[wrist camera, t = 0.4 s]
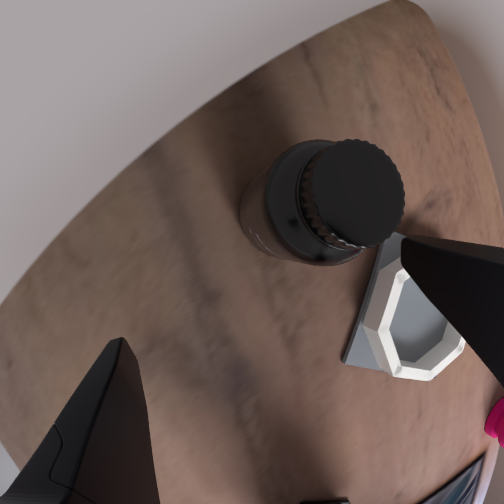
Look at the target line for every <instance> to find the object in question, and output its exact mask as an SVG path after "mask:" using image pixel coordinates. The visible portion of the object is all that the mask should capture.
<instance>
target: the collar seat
mask: <svg viewBox="0 0 504 504" xmlns="http://www.w3.org/2000/svg"><path fill="white" fill-rule="evenodd" d="M405 237H406V236H404V235H402V234H399V233H397V232H394V233H392V235H391V237H390V238H389V239H386V240H385V241H384V242H383V243H382V244H380V246H379V250H378V253H377V257H376V260H375V264H374V267H373V271H372V274H371V277H370V281H369V284H368V287H367V290H366V294H365V297H364V300H363V303H362V306H361V309H360V312H359V315H358V318H357V321H356V324H355V327H354V330H353V332H352V335H351V338H350V341H349V343H348V346H347V349H346V352H345V354H344V357H343V359H342V362H343V363H344V364H347V365H353V366H358V367H364V368H369V369H375V370H381V371H385V372H387V373H388V374H390V375H392V376H393V377H401V378H408V379H416V380H423V381H430V380H431V379H432V378H436V376H437V374H438V373H439V372H440V371H442V370H443V369H444V368H445V367H446V366H447V365H448V364H449V363H451V362H452V361H453V360H454V359H455V358H456V357H457V356H458V355H459V354H460V353H461V352H462V351H463V348H464V345H465V342H466V341H465V340H464V339H463V337H462V336H461V335H460V334H459V333H458V332H457V331H456V329H455V328H454V327H453V326H452V325H451V324H450V323H449V322H448V321H447V319H446V318H445V317H444V316H443V315H442V314H441V313H440V312H439V311H438V310H437V308H436V307H435V306H434V305H433V304H432V303H431V302H430V301H429V300H428V299H427V297H426V296H425V295H424V294H423V292H422V291H421V290H420V289H419V287H418V286H417V285H416V283H415V282H414V281H413V280H412V278H411V277H410V276H409V274H408V273H407V272H406V271H405V269H404V268H403V267H402V265H401V261H400V257H401V241H402V239H403V238H405Z"/></svg>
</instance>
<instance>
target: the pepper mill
mask: <svg viewBox="0 0 504 504" xmlns="http://www.w3.org/2000/svg"><path fill="white" fill-rule="evenodd" d="M485 432H486V433H487V434H488V435H490V436H491V437H493V438H496V437H498V442H499V444H500V446H502V447H503V448H504V397H503V398H502V399H501V400H499V401H498V403H497V404H496V405H495V406H494V408H493V409H492V411H491V412H490V414H489V416H488V418H487V421H486V424H485Z"/></svg>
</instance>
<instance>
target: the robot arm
mask: <svg viewBox="0 0 504 504" xmlns="http://www.w3.org/2000/svg"><path fill="white" fill-rule="evenodd" d="M400 261H401V265H402V267H403V268H404V269H405V271H406V272H407V273H408V274H409V276H410V277H411V278H412V280H413V281H414V282H415V283H416V285H417V286H418V287H419V289H420V290H421V291H422V292H423V294H424V295H425V296H426V297H427V299H428V300H429V301H430V302H431V303H432V304H433V305H434V306H435V307H436V308H437V310H438V311H439V312H440V313H441V314H442V315H443V316H444V317H445V318H446V319H447V321H448V322H449V323H450V324H451V325H452V326H453V327H454V328H455V329H456V331H457V332H458V333H459V334H460V335H461V336H462V337H463V339H464V340H465V341H466V342H467V343H468V344H469V346H470V347H471V348H472V349H473V350H474V351H475V353H476V354H477V355H478V356H479V357H480V359H481V360H482V361H483V362H484V363H485V365H486V366H487V367H488V368H489V370H490V371H491V372H492V373H493V375H494V376H495V377H496V378H497V380H498V381H499V382H500V383H501V385H502V386H503V388H504V249H503V248H501V247H495V246H488V245H482V244H475V243H468V242H462V241H455V240H448V239H440V238H433V237H426V236H418V235H410V236H407V237H405V238H403V239H402V241H401V257H400ZM0 504H160V499H159V494H158V488H157V482H156V476H155V469H154V462H153V455H152V447H151V439H150V431H149V421H148V412H147V406H146V400H145V396H144V391H143V386H142V381H141V376H140V370H139V365H138V361H137V359H136V357H135V355H134V353H133V351H132V350H131V348H130V346H129V345H128V343H127V341H126V340H125V338H123V337H120V338H116V339H113V340H110V341H109V343H108V344H107V345H106V347H105V348H104V350H103V351H102V352H101V354H100V355H99V357H98V358H97V360H96V361H95V362H94V364H93V365H92V367H91V368H90V370H89V371H88V373H87V374H86V375H85V377H84V378H83V380H82V381H81V383H80V384H79V386H78V387H77V389H76V390H75V392H74V393H73V395H72V396H71V398H70V399H69V401H68V402H67V404H66V405H65V407H64V408H63V410H62V411H61V413H60V414H59V416H58V418H57V419H56V421H55V424H53V425H52V427H51V428H50V430H49V432H48V433H47V435H46V436H45V438H44V439H43V441H42V442H41V444H40V445H39V447H38V448H37V450H36V451H35V453H34V454H33V455H32V457H31V458H30V460H29V461H28V462H27V464H26V465H25V466H24V468H23V469H22V471H21V472H20V473H19V475H18V476H17V478H16V479H15V480H14V482H13V483H12V485H11V486H10V487H9V489H8V490H7V491H6V492H5V494H3V495H2V496H1V497H0ZM300 504H350V502H349V501H348V500H344V501H324V502H302V503H300Z"/></svg>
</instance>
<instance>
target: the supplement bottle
mask: <svg viewBox="0 0 504 504" xmlns="http://www.w3.org/2000/svg"><path fill="white" fill-rule="evenodd" d="M404 197H405V192H404V189H403V182H402V180H401V175H400V173H399V172H398V171H397V168H396V165H395V164H394V163H393V162H392V160H391V158H390V157H389V156H387V155H386V154H385V152H384V151H383V150H381V149H379V148H378V147H377V146H376V145H375V144H370V143H369V142H367V141H360V140H359V139H354V140H351V139H346V140H344V141H337V142H334V141H330V140H322V139H316V140H309V141H304V142H301V143H298V144H296V145H294V146H292V147H291V148H289V149H287V150H286V151H285V152H283V153H282V154H281V155H280V156H279V157H277V158H276V159H275V160H274V161H273V162H272V163H271V164H269V165H268V166H267V167H266V168H265V169H264V170H263V171H262V172H260V173H259V174H258V175H257V176H256V177H255V178H254V179H253V180H252V181H251V182H250V183H249V185H248V186H247V188H246V189H245V191H244V193H243V195H242V198H241V202H240V208H239V216H240V222H241V226H242V229H243V231H244V233H245V235H246V237H247V238H248V240H249V241H250V242H251V244H252V245H253V246H254V247H256V248H257V249H258V250H260V251H261V252H263V253H265V254H267V255H269V256H272V257H275V258H279V259H284V260H289V261H294V262H299V263H304V264H309V265H314V266H335V265H339V264H343V263H345V262H348V261H350V260H352V259H353V258H355V257H356V256H358V255H359V254H360V253H362V252H363V251H364V250H365V249H366V248H373V247H375V246H376V245H377V244H382V243H383V242H384V241H385V240H386V239H389V238H390V237H391V235H392V233H394V232H395V231H396V229H397V226H398V225H399V224H400V223H401V217H402V216H403V214H404V211H403V208H404V206H405V201H404Z"/></svg>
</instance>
